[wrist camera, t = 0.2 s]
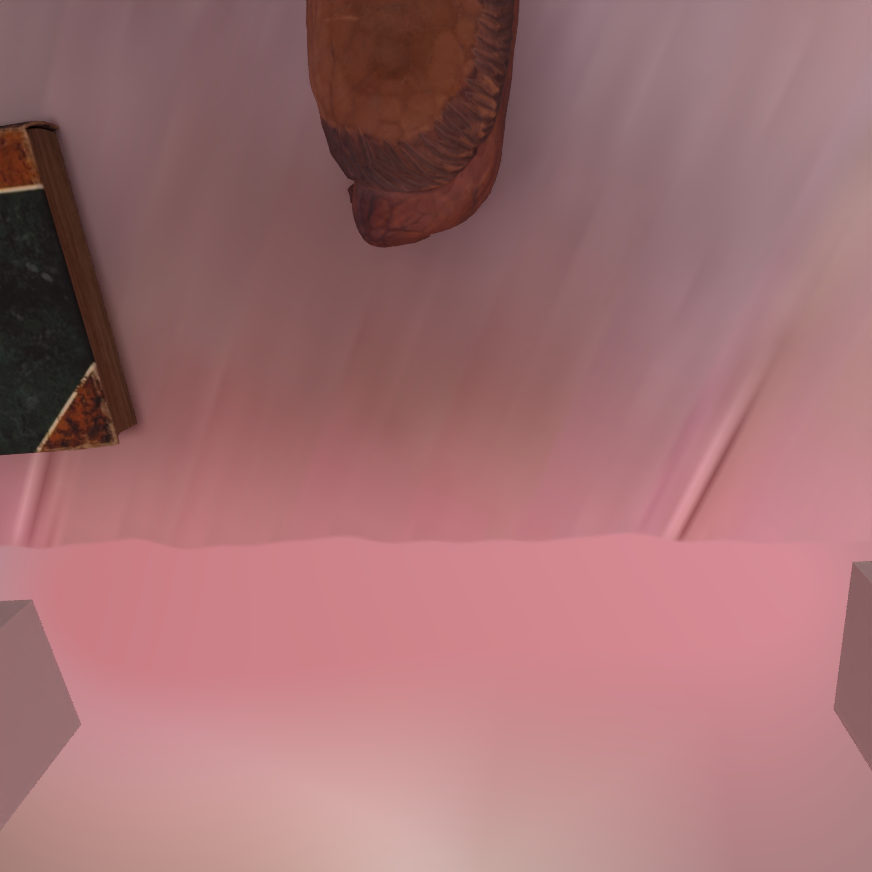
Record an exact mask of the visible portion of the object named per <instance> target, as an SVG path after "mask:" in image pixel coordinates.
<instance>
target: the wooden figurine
mask: <svg viewBox="0 0 872 872" xmlns="http://www.w3.org/2000/svg"><path fill="white" fill-rule="evenodd" d="M306 4H307V9H306V25H307V49H308V66H309V78H310V84H311V88H312V91H313V94H314V97H315V99H316V101H317V105H318V108H319V113H320V118H321V123H322V127H323V130H324V133H325V136H326V139H327V142H328V146H329V150H330V153H331V155H332V157H333V158H334V159H335V160H336V162H337V163H338V165H339V166H340V168H341V169H342V171H343V172H344V174H345V175H346V176H347V177H348V178H349V179H351V180H354V181H355V182H354V184H353V185H351V186H350V187H349V188H348V193H349V195H350V201H351V203H352V209H353V216H354V219H355V223H356V226H357V229H358V231H359V233H360V234H361V236H362V237H363V239H364V240H365V241H366V242H367V243H368V244H370V245H373V246H377V247H392V246H399V245H404V244H410V243H416V242H418V241H421V240H423V239H425V238H427V237H429V236H430V235H431V234H433V233H437V232H440V231H444V230H447V229H450V228H452V227H454V226H457V225H459V224H460V223H462V222H464V221H465V220H467V219H468V218H469V217H470V216H472V215H473V214H474V213H475V212H476V211H477V209H478V208H479V207H480V205H481V204H482V203H483V202H484V201H485V200H486V198H487V197H488V195H489V194H490V192H491V189H492V187H493V184H494V182H495V180H496V177H497V174H498V170H499V166H500V162H501V156H502V145H503V138H504V129H505V117H506V112H507V106H508V100H509V94H510V87H511V80H512V69H513V56H514V48H515V42H516V34H517V25H518V13H519V0H306Z"/></svg>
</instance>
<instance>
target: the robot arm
mask: <svg viewBox="0 0 872 872" xmlns="http://www.w3.org/2000/svg"><path fill="white" fill-rule="evenodd" d="M834 710H835V712H836V714H837V715H838V717H839V719H840V720H841V722H842V723H843V725H844V727H845V728H846V730H847V731H848V733H849V735H850V736H851V738H852V739H853V741H854V743H855V744H856V746H857V747H858V749H859V751H860V752H861V754H862V755H863V757H864V759H865V760H866V762H867V763H868V765H869V767H870V768H871V770H872V561H865V562H853V564H852V571H851V579H850V587H849V595H848V603H847V610H846V619H845V626H844V634H843V642H842V649H841V657H840V665H839V672H838V680H837V689H836V696H835V703H834ZM80 725H81V723H80V720H79V718H78V715H77V713H76V710H75V707H74V705H73V702H72V700H71V697H70V695H69V692H68V690H67V687H66V685H65V682H64V679H63V677H62V674H61V672H60V669H59V667H58V664H57V662H56V659H55V657H54V654H53V651H52V649H51V646H50V644H49V642H48V639H47V636H46V634H45V631H44V628H43V626H42V623H41V621H40V618H39V616H38V613H37V611H36V608H35V606H34V603H33V600H17V601H16V600H15V601H0V830H1V829H2V828H3V826H4V825H5V824H6V822H7V821H8V820H9V818H10V817H11V816H12V815H13V813H14V812H15V810H16V809H17V808H18V807H19V805H20V804H21V803H22V801H23V800H24V798H25V797H26V796H27V795H28V794H29V792H30V791H31V789H32V788H33V787H34V786H35V784H36V783H37V782H38V780H39V779H40V778H41V776H42V775H43V774H44V773H45V771H46V770H47V769H48V767H49V766H50V765H51V763H52V762H53V761H54V759H55V758H56V757H57V755H58V754H59V753H60V751H61V750H62V749H63V747H64V746H65V745H66V744H67V742H68V741H69V740H70V738H71V737H72V736H73V735H74V733H75V732H76V730H77V729H78V728H79V726H80Z"/></svg>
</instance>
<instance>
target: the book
mask: <svg viewBox="0 0 872 872" xmlns="http://www.w3.org/2000/svg"><path fill="white" fill-rule="evenodd" d="M59 129H60V128H59V127H58V126H56V125H53V124H50V123H47V122H44V121H30V122H24V123H18V124H11V125H5V126H0V455H10V454H24V453H38V452H52V451H66V450H80V449H88V448H97V447H105V446H113V445H117V444H119V439H118V434H119V433H120V432H122V431H123V430H125V429H127V428H129V427H131V426H132V425H135V424H137V421H136V417H135V414H134V410H133V407H132V403H131V400H130V396H129V392H128V389H127V385H126V382H125V378H124V375H123V371H122V367H121V364H120V360H119V357H118V353H117V350H116V346H115V342H114V339H113V335H112V332H111V328H110V325H109V321H108V317H107V314H106V310H105V307H104V303H103V300H102V296H101V292H100V289H99V285H98V282H97V278H96V275H95V271H94V267H93V264H92V260H91V257H90V253H89V250H88V246H87V243H86V239H85V235H84V232H83V228H82V225H81V221H80V218H79V214H78V210H77V207H76V203H75V200H74V196H73V193H72V189H71V186H70V182H69V179H68V175H67V172H66V168H65V164H64V161H63V157H62V154H61V150H60V147H59V143H58V140H57V136H56V133H54V132H52V131H56V130H59Z"/></svg>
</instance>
